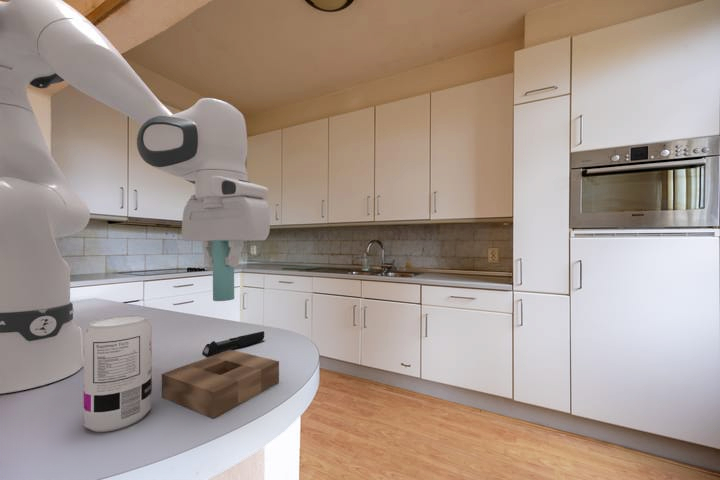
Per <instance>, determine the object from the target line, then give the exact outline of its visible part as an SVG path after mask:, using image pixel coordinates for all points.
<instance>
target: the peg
mask: <svg viewBox="0 0 720 480" xmlns="http://www.w3.org/2000/svg"><path fill="white" fill-rule="evenodd" d="M230 249H231V247H229V241H218V240H213V266H212V301H213V302H226V301H233V300H235V267H227V266H226V265H225V262H226V261H225V257H228V255H229V252H230Z"/></svg>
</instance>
